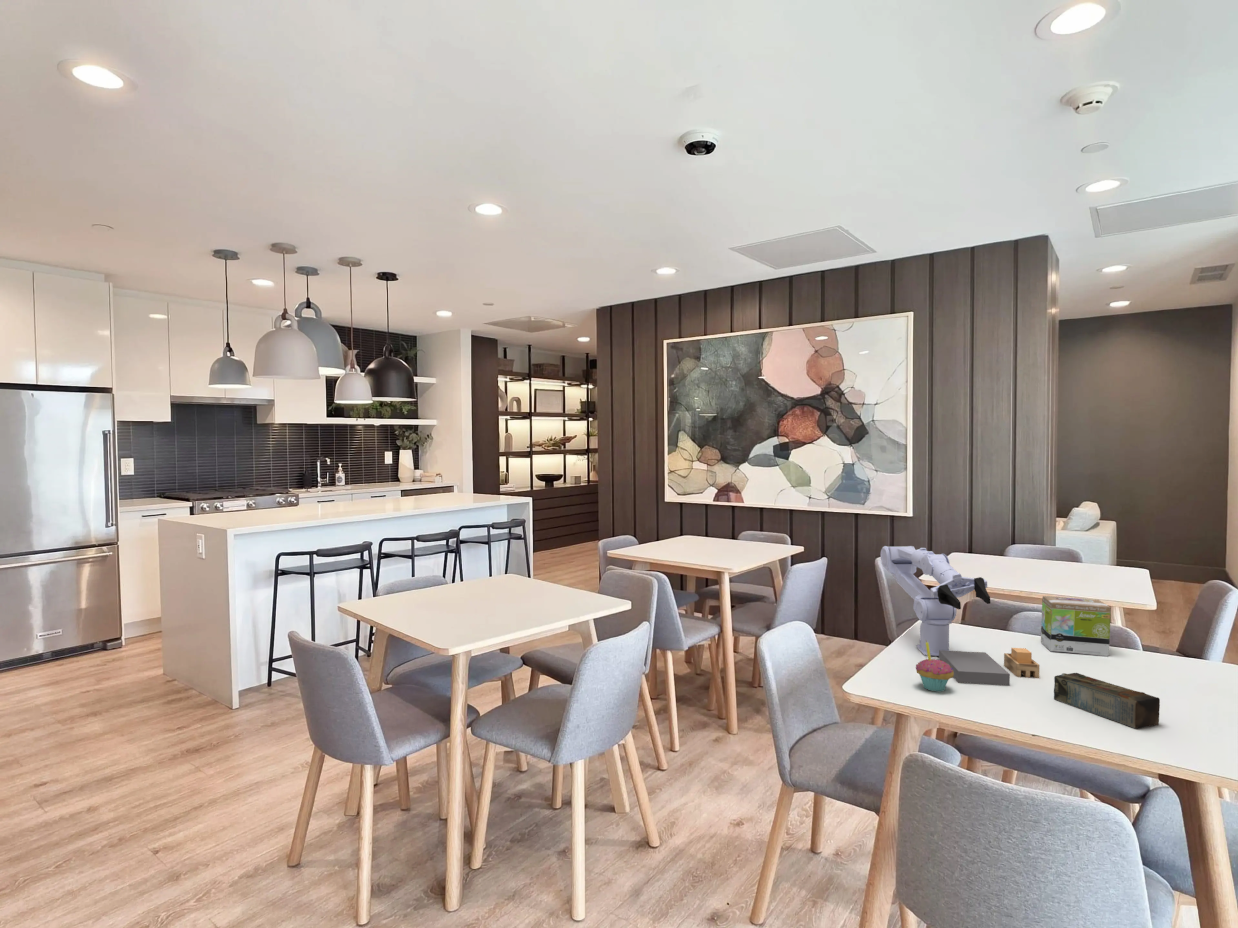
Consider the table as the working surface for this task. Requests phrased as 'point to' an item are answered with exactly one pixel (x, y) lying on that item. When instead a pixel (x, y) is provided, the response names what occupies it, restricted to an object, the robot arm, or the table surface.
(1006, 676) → the dock
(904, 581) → the robot arm
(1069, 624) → the tea box
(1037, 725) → the table surface
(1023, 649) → the light brown block
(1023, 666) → the pallet
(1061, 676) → the beverage carton
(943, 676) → the cupcake
